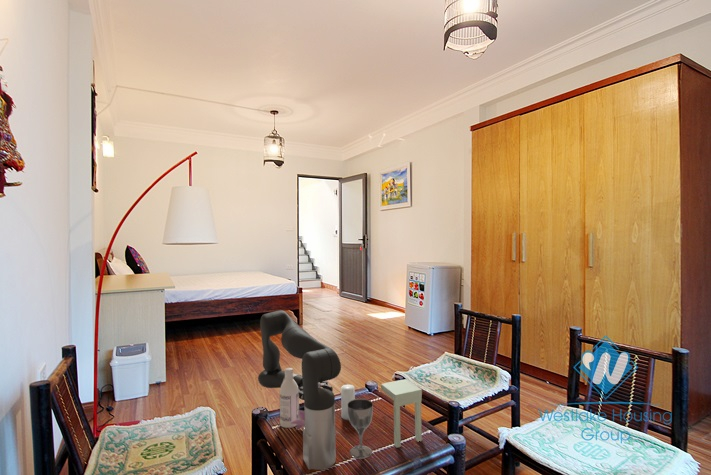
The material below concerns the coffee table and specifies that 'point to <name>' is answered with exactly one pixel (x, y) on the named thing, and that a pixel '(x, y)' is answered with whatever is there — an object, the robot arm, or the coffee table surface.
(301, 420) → the lily
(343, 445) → the coffee table surface
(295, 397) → the bath foam
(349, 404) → the wine glass
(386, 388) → the small green stool
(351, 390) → the white plastic cylinder
